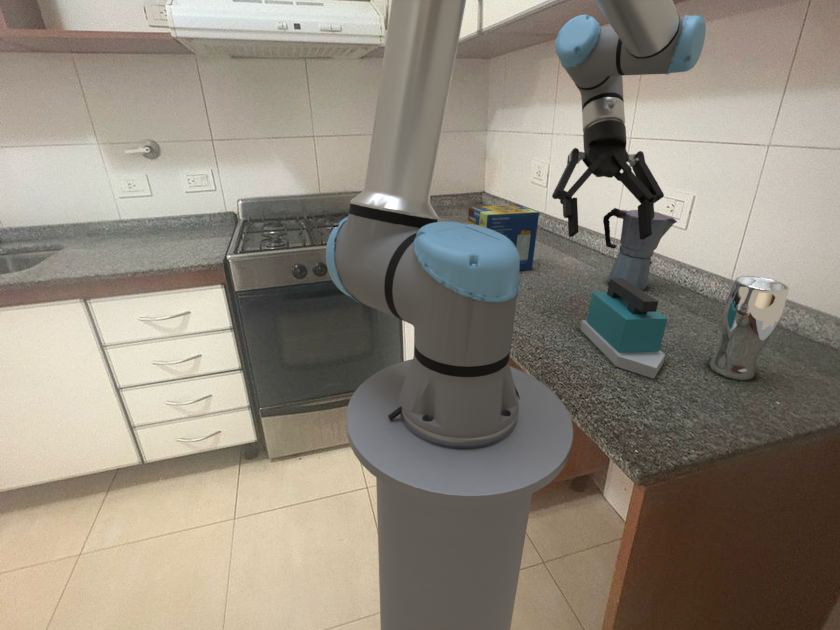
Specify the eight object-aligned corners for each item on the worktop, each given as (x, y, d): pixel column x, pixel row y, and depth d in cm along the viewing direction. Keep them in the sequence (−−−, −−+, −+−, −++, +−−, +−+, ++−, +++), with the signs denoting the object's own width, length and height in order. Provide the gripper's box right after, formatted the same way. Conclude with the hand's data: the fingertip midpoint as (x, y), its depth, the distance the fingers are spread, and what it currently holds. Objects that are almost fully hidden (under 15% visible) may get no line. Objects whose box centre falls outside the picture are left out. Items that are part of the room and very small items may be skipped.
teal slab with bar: (579, 329, 84) (589, 274, 80) (619, 328, 85) (631, 274, 81) (629, 379, 68) (645, 314, 63) (677, 378, 69) (697, 313, 64)
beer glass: (696, 361, 74) (722, 276, 67) (731, 358, 75) (760, 274, 69) (730, 384, 67) (763, 292, 61) (768, 379, 69) (804, 289, 63)
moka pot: (663, 295, 102) (686, 208, 94) (593, 288, 106) (609, 203, 97) (655, 282, 110) (676, 201, 102) (590, 275, 114) (605, 196, 106)
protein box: (464, 263, 122) (467, 206, 116) (512, 258, 127) (518, 204, 120) (481, 275, 113) (486, 214, 107) (533, 269, 118) (540, 211, 112)
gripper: (546, 114, 80) (550, 225, 76) (679, 121, 81) (688, 230, 78) (533, 137, 87) (536, 239, 84) (655, 143, 89) (663, 244, 85)
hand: (609, 235), depth 81 cm, fingers open, 13 cm apart
